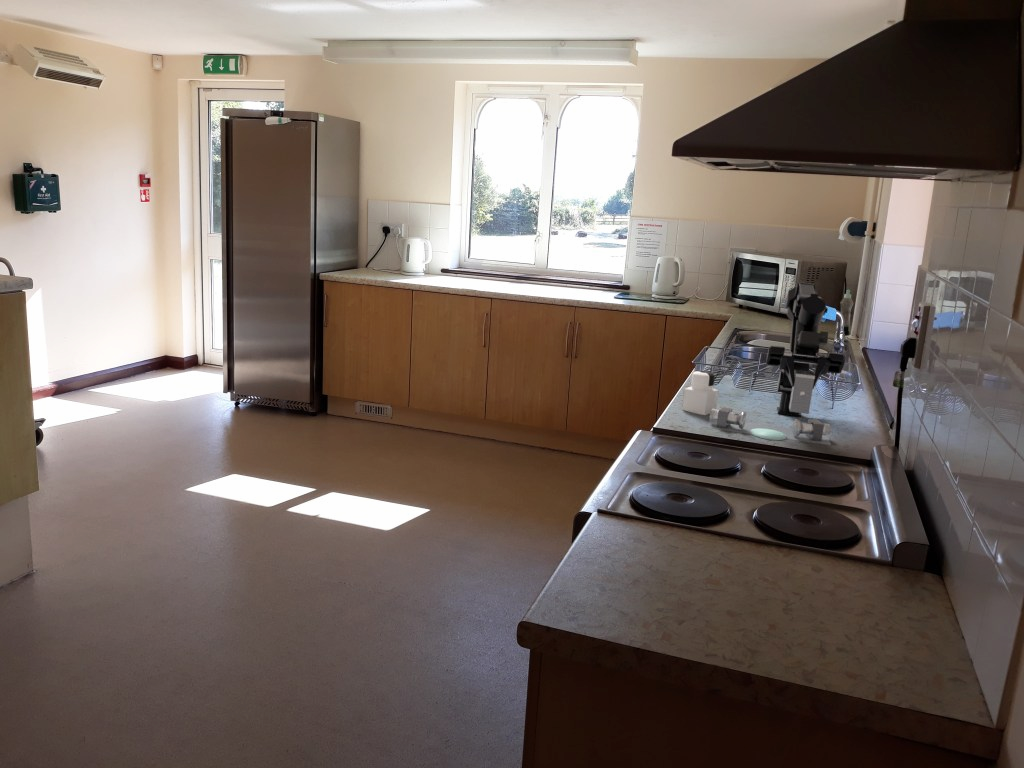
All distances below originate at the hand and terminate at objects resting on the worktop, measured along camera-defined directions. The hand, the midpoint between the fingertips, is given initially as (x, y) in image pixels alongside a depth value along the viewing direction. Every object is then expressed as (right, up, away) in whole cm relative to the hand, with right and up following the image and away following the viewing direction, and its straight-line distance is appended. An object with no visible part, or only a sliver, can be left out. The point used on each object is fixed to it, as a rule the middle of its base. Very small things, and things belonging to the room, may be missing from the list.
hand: (802, 386), depth 208 cm
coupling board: (-8, -13, +3) cm, 15 cm away
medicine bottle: (-22, -8, +20) cm, 31 cm away
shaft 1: (-18, -10, +5) cm, 22 cm away
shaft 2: (+2, -13, 0) cm, 13 cm away
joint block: (0, -6, +3) cm, 7 cm away
